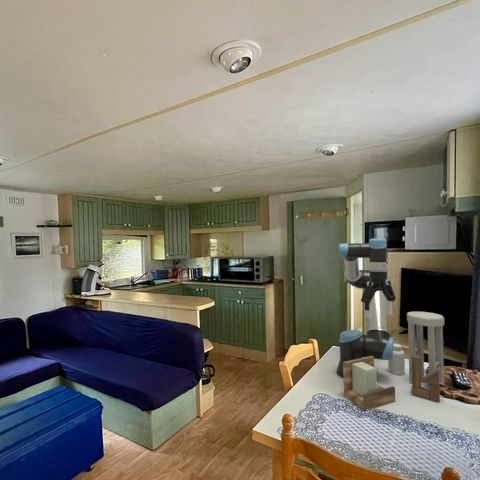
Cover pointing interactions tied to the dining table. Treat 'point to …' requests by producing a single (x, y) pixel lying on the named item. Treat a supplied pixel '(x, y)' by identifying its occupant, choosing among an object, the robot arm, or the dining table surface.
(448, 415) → the dining table surface
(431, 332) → the stool
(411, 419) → the dining table surface
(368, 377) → the sage green upright block
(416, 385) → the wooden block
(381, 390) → the wooden display stand
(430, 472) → the dining table surface
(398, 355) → the pill bottle
